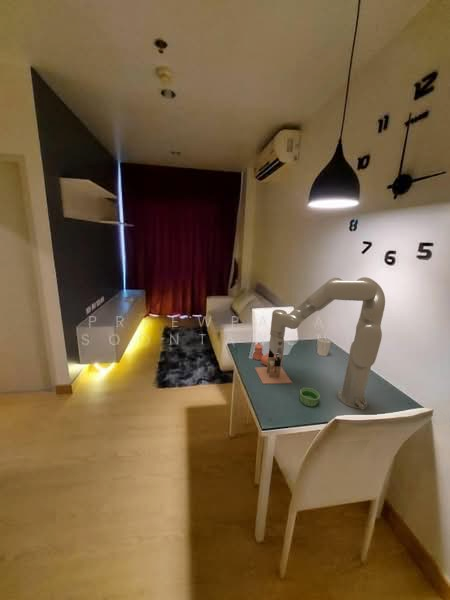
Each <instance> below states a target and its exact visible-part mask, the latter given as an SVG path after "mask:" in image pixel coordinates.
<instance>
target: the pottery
mask: <svg viewBox="0 0 450 600" xmlns="http://www.w3.org/2000/svg"><path fill="white" fill-rule="evenodd" d="M263 351H264V350H263V345H262V343H261V342H258V343H257V344H255V345H254V352H253V353H252V358H253V360H256V361H260V364H262V365H265V367H267V363H268V361H267V359H268V356H269V352H268V353H266V354H263ZM274 357H275V355H274ZM277 357H279V355H277ZM283 359H284V358H283V356H282V359H281V362H282V363H283ZM274 367H275V366H273V369H274Z"/></svg>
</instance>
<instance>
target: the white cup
mask: <svg viewBox="0 0 450 600" xmlns="http://www.w3.org/2000/svg"><path fill="white" fill-rule="evenodd" d="M331 343H332V340H331V339H328V338H325V337H319V338H318V340H317V350H316V351H317V355H319V356H322V357H326V356H328V355H329V352H330V347H331Z"/></svg>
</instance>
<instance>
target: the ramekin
mask: <svg viewBox="0 0 450 600" xmlns="http://www.w3.org/2000/svg"><path fill="white" fill-rule="evenodd" d="M320 398H321V395H320V393H319V392H318V391H317V390H315V389H314V388H310V387H303V388H301V389H300V391H299V401H300V402H301V403H302V404H303V405H304V406H307V407H315V406H317V405H318V404H319V399H320Z"/></svg>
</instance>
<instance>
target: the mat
mask: <svg viewBox="0 0 450 600" xmlns="http://www.w3.org/2000/svg"><path fill="white" fill-rule="evenodd" d="M254 369H255V371H256V374H257V375H258V378H259V380H260V382H261V384H262V385H277V384H278V385H279V384H280V385H282V384H292V383H293V381H292V380H291V379H290V377H289V376H288V375H287V373H286V372H285V370H284V368H283V367H281V369H280V377H277V373H274V369H273V372H272V377H269V373H267V366H264V367H263V366H261V367H260V366H259V367H257V366H256V367H254ZM277 369H278V367H277ZM269 372H270V371H269Z"/></svg>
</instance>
